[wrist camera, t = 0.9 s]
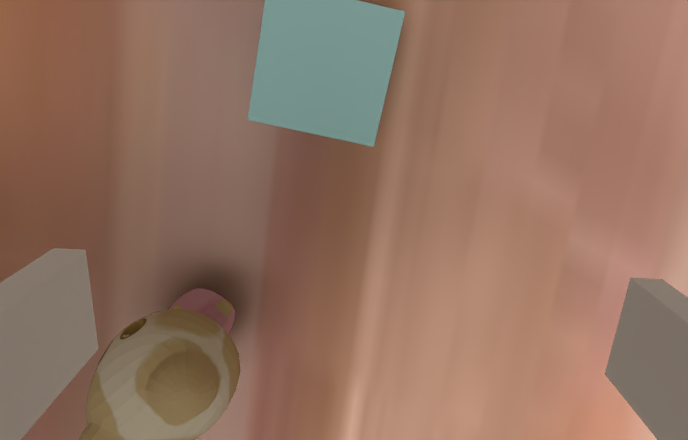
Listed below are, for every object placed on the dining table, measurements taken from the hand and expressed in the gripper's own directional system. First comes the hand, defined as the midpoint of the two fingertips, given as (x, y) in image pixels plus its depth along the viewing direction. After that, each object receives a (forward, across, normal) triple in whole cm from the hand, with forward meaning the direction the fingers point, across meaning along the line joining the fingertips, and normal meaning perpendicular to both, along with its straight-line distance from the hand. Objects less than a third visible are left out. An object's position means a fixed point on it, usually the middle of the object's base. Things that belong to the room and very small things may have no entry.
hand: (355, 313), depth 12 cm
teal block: (+26, -2, +5) cm, 26 cm away
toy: (+26, -11, -15) cm, 32 cm away
